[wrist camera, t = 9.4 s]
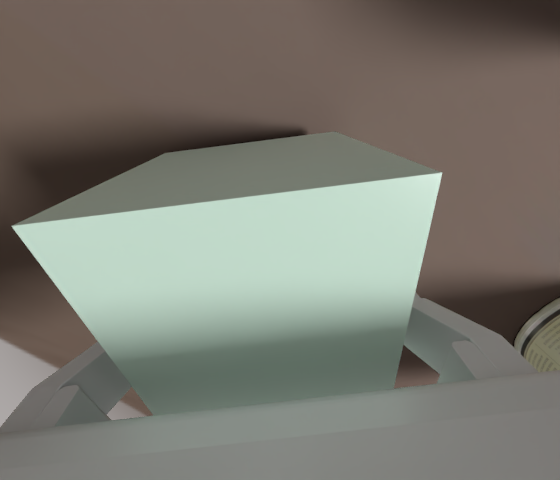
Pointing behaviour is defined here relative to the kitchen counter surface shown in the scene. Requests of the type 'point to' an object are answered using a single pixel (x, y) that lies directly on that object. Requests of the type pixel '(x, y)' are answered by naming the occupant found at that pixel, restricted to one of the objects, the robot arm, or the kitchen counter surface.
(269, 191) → the mint green block
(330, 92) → the kitchen counter surface
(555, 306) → the coffee can
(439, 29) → the kitchen counter surface
